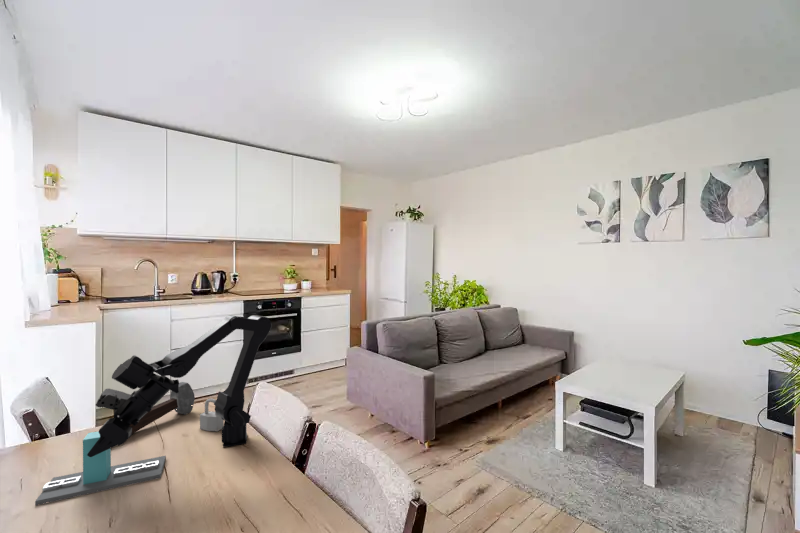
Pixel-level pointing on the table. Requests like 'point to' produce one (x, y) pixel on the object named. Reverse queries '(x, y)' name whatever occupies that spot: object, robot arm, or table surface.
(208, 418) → the padlock
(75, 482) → the steel chain
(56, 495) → the rubber mat
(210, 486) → the table surface
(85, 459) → the teal block
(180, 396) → the hammer
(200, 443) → the table surface
